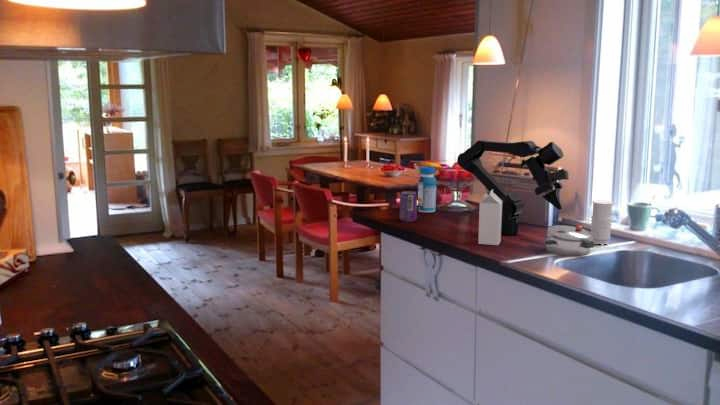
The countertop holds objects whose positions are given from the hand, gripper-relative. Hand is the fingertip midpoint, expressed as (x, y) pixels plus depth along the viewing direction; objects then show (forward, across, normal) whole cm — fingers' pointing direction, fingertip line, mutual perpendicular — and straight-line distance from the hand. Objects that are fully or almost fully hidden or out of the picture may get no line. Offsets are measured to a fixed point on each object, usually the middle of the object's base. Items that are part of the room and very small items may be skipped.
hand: (560, 209), depth 230 cm
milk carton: (0, -12, +26) cm, 28 cm away
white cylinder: (+17, +7, -4) cm, 19 cm away
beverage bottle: (-30, +33, +59) cm, 74 cm away
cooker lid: (+9, -11, 0) cm, 14 cm away
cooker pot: (+15, -10, +2) cm, 18 cm away
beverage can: (-26, +9, +59) cm, 65 cm away
